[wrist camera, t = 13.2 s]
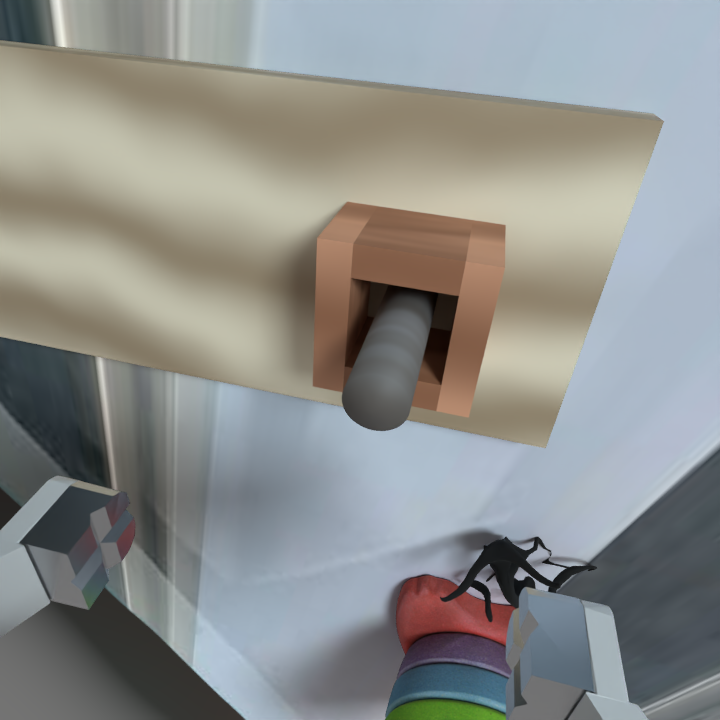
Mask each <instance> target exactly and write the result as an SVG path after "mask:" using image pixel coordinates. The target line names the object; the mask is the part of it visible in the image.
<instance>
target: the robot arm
mask: <svg viewBox="0 0 720 720" xmlns="http://www.w3.org/2000/svg"><path fill="white" fill-rule="evenodd" d="M129 504H130V502H129V499H128V496H127V493H126V492H122V491H118V490H114V489H110V488H106V487H102V486H98V485H94V484H90V483H86V482H82V481H79V480H75V479H71V478H67V477H62V476H58V475H57V476H55V477H53V478H51V479H49V480H48V481H47V482H46V483H45V484H44V485H43V486H42V487H41V488H40V489H39V490H38V491H37V492H36V493H35V494H34V495H33V496H32V498H31V499H30V500H29V501H28V502H27V503H26V504H25V505H24V506H23V507H22V508H21V509H20V510H19V511H18V512H17V513H16V514H15V515H14V516H13V517H12V519H11V520H10V521H9V522H8V523H7V524H6V525H5V526H4V527H3V528H2V529H1V530H0V637H2V636H3V635H5V634H6V633H8V632H9V631H10V630H12V629H13V628H15V627H16V626H18V625H19V624H21V623H22V622H23V621H25V620H26V619H28V618H29V617H31V616H32V615H34V614H35V613H37V612H38V611H39V610H41V609H42V608H44V607H45V606H47V605H48V604H49V603H50V601H55V602H59V603H63V604H67V605H72V606H75V607H80V608H84V609H90V607H91V606H92V604H93V603H94V601H95V600H96V598H97V597H98V596H99V594H100V592H101V591H102V590H103V588H104V587H105V585H106V584H107V582H108V581H109V573H108V569H110V568H111V567H113V566H115V565H117V564H118V563H120V562H122V560H123V559H124V557H125V556H126V554H127V553H128V551H129V549H130V547H131V544H132V541H133V539H134V536H135V521H134V517H133V516H132V515H131V514H130V513H129V512H128V511H127V510H126V508H127V507H128V505H129ZM49 600H50V601H49ZM506 662H507V664H508V665H509V667H510V669H511V670H512V673H511V675H510V677H509V679H508V681H507V684H506V720H648V719H647V717H646V716H645V714H644V713H643V712H642V710H641V709H640V707H639V706H638V705H636V704H633V703H630V702H629V700H628V694H627V689H626V683H625V678H624V672H623V667H622V661H621V656H620V650H619V644H618V639H617V633H616V628H615V622H614V617H613V613H612V611H611V609H610V608H609V607H608V606H606V605H602V604H597V603H592V602H588V601H583V600H579V599H578V598H574V597H569V596H565V595H560V594H556V593H551V592H547V591H542V590H538V589H533V588H529V587H525V588H523V589H522V591H521V593H520V596H519V608H517V609H515V610H513V612H512V615H511V618H510V620H509V625H508V630H507V637H506Z"/></svg>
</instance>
